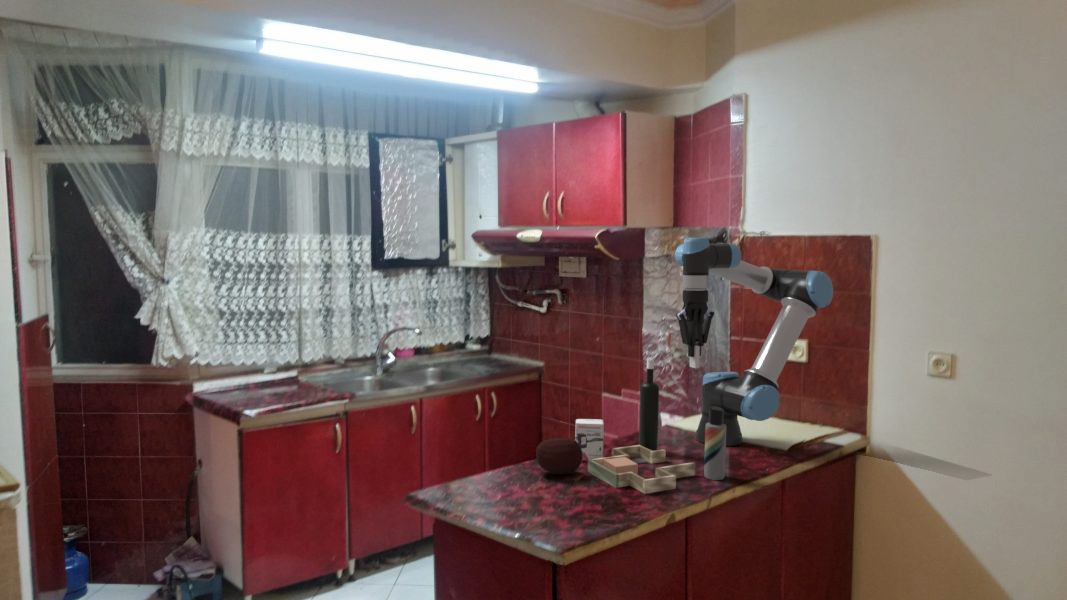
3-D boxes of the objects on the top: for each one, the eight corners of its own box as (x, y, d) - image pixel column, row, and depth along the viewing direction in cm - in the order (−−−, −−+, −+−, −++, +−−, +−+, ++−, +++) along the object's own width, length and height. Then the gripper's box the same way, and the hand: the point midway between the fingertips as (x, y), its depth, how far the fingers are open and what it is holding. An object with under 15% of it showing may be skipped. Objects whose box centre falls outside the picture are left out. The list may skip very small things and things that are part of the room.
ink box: (574, 461, 216) (575, 422, 215) (574, 456, 221) (575, 418, 220) (603, 462, 216) (603, 423, 215) (602, 457, 221) (603, 419, 220)
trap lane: (649, 454, 224) (650, 443, 224) (711, 482, 198) (711, 470, 198) (575, 464, 212) (575, 453, 212) (630, 496, 186) (630, 483, 186)
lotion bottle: (710, 472, 207) (713, 404, 205) (728, 477, 203) (730, 407, 201) (699, 476, 203) (702, 407, 201) (717, 481, 199) (720, 410, 197)
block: (624, 472, 207) (625, 457, 206) (637, 479, 200) (638, 464, 200) (603, 475, 204) (603, 459, 204) (615, 482, 197) (615, 466, 197)
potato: (536, 467, 209) (536, 432, 209) (581, 468, 209) (582, 433, 208) (535, 479, 198) (535, 443, 198) (582, 481, 198) (583, 444, 197)
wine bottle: (651, 448, 230) (654, 356, 228) (660, 453, 225) (663, 358, 222) (635, 450, 228) (638, 356, 226) (644, 455, 223) (646, 359, 221)
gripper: (704, 287, 221) (703, 363, 223) (670, 289, 215) (669, 367, 217) (721, 289, 214) (719, 367, 216) (685, 290, 208) (684, 371, 210)
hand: (694, 367), depth 216 cm, fingers closed
